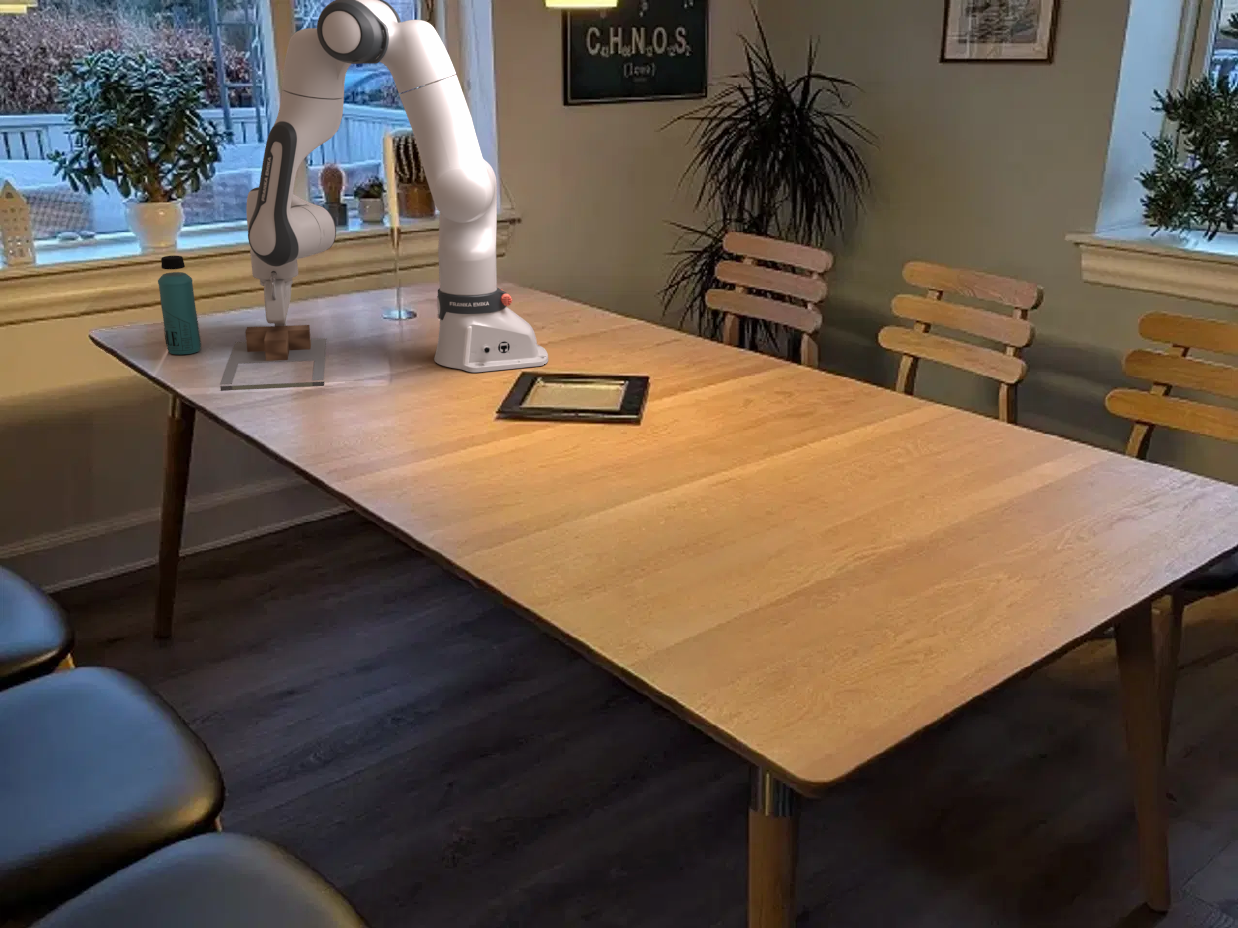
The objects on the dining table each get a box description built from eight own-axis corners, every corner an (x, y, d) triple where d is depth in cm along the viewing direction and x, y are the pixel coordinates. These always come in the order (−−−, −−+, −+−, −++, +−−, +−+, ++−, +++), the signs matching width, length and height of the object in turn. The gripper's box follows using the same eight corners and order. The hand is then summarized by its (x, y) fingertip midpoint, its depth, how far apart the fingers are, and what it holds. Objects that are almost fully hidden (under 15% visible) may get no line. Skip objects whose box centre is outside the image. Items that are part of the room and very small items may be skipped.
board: (327, 344, 230) (326, 338, 230) (324, 385, 204) (323, 379, 203) (235, 347, 226) (235, 341, 226) (220, 390, 200) (220, 384, 200)
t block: (311, 344, 225) (309, 324, 224) (309, 359, 215) (307, 339, 214) (249, 346, 223) (247, 327, 221) (244, 361, 213) (242, 341, 211)
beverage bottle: (208, 353, 222) (196, 253, 214) (193, 363, 216) (180, 260, 208) (177, 352, 222) (164, 252, 215) (161, 361, 216) (147, 258, 209)
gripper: (288, 277, 214) (294, 347, 219) (293, 257, 233) (299, 321, 238) (254, 278, 213) (261, 348, 218) (262, 257, 231) (268, 322, 236)
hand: (281, 334), depth 228 cm, fingers closed
